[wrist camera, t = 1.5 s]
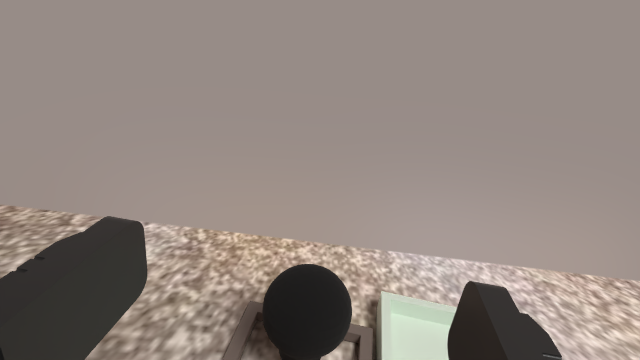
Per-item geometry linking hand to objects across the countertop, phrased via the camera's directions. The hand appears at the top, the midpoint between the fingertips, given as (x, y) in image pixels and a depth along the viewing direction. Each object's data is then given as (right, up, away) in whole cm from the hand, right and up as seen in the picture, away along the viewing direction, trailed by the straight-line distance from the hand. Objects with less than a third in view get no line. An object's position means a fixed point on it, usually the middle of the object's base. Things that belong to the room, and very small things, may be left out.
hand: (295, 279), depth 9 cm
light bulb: (-1, -13, +18) cm, 22 cm away
